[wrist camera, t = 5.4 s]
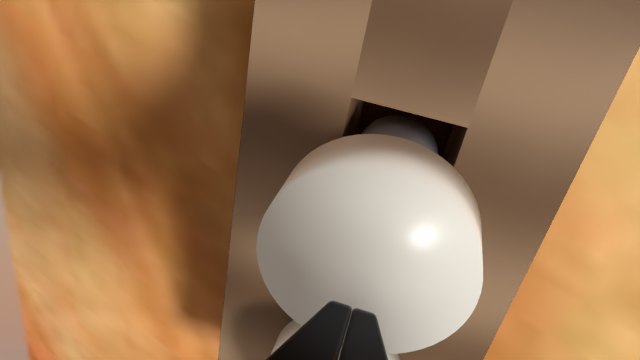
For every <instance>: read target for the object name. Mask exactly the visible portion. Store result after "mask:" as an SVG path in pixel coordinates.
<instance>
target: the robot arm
mask: <svg viewBox="0 0 640 360" xmlns="http://www.w3.org/2000/svg"><path fill="white" fill-rule="evenodd" d="M351 313H352V314H351ZM350 316H351V317H350ZM349 320H350V321H349ZM348 323H349V324H348ZM347 327H348V328H347ZM346 330H347V331H346ZM345 334H346V335H345ZM344 337H345V338H344ZM343 341H344V342H343ZM342 344H343V345H342ZM341 348H342V349H341ZM340 351H341V352H340ZM339 355H340V356H339ZM338 358H339V359H338ZM266 360H388V357H387V353H386V349H385V346H384V342H383V338H382V335H381V331H380V327H379V324H378V320H377V317H376V315H375V314H374V313H371V312H368V311H365V310H362V309H359V308H354V309H353V311H352V308H351V306H349V305H346V304H343V303H340V302H336V301H330V302H328V303H327V304H326V305H325V306H324V307H322V308H321V309H320V310H319V311H318V312H317V313H316V314H315V315H314V316H313V317H312V318H310V319H309V320H308V321H307V322H306V323H305V324H304V325H303V326H302V327H301V328H300V329H298V330H297V331H296V332H295V333H294V334H293V335H292V336H291V337H290V338H289V339H287V340H286V341H285V342H284V343H283V344H282V345H281V346H280V347H279V348H278V349H277V350H275V351H274V352H273V353H272V354H271V355H270V356H269V357H268V358H267V359H266Z"/></svg>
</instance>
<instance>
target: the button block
mask: <svg viewBox="0 0 640 360" xmlns="http://www.w3.org/2000/svg"><path fill="white" fill-rule="evenodd" d="M639 47H640V0H255V5H254V15H253V25H252V34H251V44H250V54H249V63H248V73H247V83H246V92H245V102H244V112H243V122H242V131H241V141H240V151H239V160H238V170H237V180H236V190H235V199H234V209H233V219H232V228H231V238H230V248H229V258H228V267H227V277H226V287H225V296H224V306H223V316H222V326H221V335H220V345H219V355H218V360H266V359H267V358H268V357H269V356H270V355H271V352H272V350H273V348H274V345H275V343H276V341H277V339H278V336H279V334H280V332H281V331H282V330H283V328H284V327H285V326H286V325H287V324H288V323H289V322H291V321H293V319H292V318H291V317H290V316H289V315H288V314H287V313H286V312H285V311H284V310H283V309H282V308H281V307H280V306H279V305H278V303H277V302H276V301H275V299H274V298H273V296H272V295H271V294H270V292H269V290H268V288H267V286H266V284H265V283H264V280H263V277H262V275H261V272H260V269H259V265H258V260H257V250H256V247H257V235H258V231H259V226H260V224H261V221H262V219H263V216H264V214H265V213H266V211H267V209H268V208H269V206H270V204H271V203H272V201H273V200H274V198H275V197H276V195H277V194H278V192H279V191H280V189H281V188H282V186H283V185H284V183H285V181H286V180H287V178H288V177H289V175H290V174H291V172H292V171H293V169H294V168H295V167H296V166H297V164H298V163H299V162H300V161H301V160H302V159H303V158H304V157H305V156H307V155H308V154H309V153H310V152H312V151H313V150H315V149H316V148H318V147H319V146H321V145H323V144H326V143H328V142H330V141H332V140H335V139H339V138H342V137H346V136H352V135H357V131H358V126H359V122H360V118H361V113H362V109H363V105H364V101H366V102H370V103H374V104H378V105H382V106H386V107H389V108H393V109H397V110H401V111H405V112H409V113H413V114H416V115H420V116H424V117H428V118H432V119H436V120H439V121H443V122H447V123H451V124H454V125H453V128H452V131H451V134H450V137H449V140H448V143H447V146H446V149H445V152H444V155H443V159H444V160H446V161H447V162H448V163H449V164H451V165H452V166H453V167H454V168H455V169H456V170H457V172H458V173H459V174H460V175H461V176H462V177H463V179H464V180H465V182H466V183H467V184H468V186H469V187H470V189H471V191H472V193H473V195H474V197H475V199H476V202H477V205H478V208H479V212H480V218H481V229H482V255H483V284H482V290H481V294H480V297H479V300H478V303H477V305H476V307H475V309H474V311H473V312H472V314H471V316H470V317H469V318H468V319H467V321H466V322H465V323H464V324H463V325H462V326H461V327H460V328H459V329H458V330H457V331H456V332H455V333H453V334H452V335H450V336H449V337H447V338H446V339H444V340H442V341H440V342H438V343H436V344H434V345H432V346H429V347H426V348H424V349H421V350H416V351H412V352H407V353H398V355H399V357H400V360H483V359H484V357H485V355H486V353H487V351H488V349H489V347H490V345H491V343H492V341H493V339H494V337H495V335H496V333H497V331H498V329H499V327H500V325H501V323H502V321H503V319H504V317H505V315H506V313H507V311H508V309H509V307H510V305H511V303H512V301H513V299H514V297H515V295H516V293H517V291H518V289H519V287H520V285H521V283H522V281H523V279H524V277H525V275H526V273H527V271H528V269H529V267H530V265H531V263H532V261H533V259H534V257H535V255H536V253H537V251H538V249H539V247H540V245H541V243H542V241H543V239H544V237H545V235H546V233H547V231H548V229H549V227H550V225H551V223H552V221H553V219H554V217H555V215H556V213H557V211H558V209H559V207H560V205H561V203H562V201H563V199H564V197H565V195H566V193H567V191H568V189H569V187H570V185H571V183H572V181H573V179H574V177H575V175H576V173H577V171H578V169H579V167H580V165H581V163H582V161H583V159H584V157H585V155H586V153H587V151H588V149H589V147H590V145H591V143H592V141H593V139H594V137H595V135H596V133H597V131H598V129H599V127H600V125H601V123H602V121H603V119H604V117H605V115H606V113H607V111H608V109H609V107H610V105H611V103H612V101H613V99H614V97H615V95H616V93H617V91H618V89H619V87H620V85H621V83H622V81H623V79H624V77H625V75H626V73H627V71H628V69H629V67H630V65H631V63H632V61H633V59H634V57H635V55H636V53H637V51H638V49H639Z"/></svg>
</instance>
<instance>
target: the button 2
mask: <svg viewBox="0 0 640 360" xmlns="http://www.w3.org/2000/svg"><path fill="white" fill-rule="evenodd" d="M256 250H257V260H258V265H259V269H260V272H261V275H262V277H263V280H264V283H265V284H266V286H267V288H268V290H269V292H270V294H271V295H272V296H273V298H274V299H275V301H276V302H277V303H278V305H279V306H280V307H281V308H282V309H283V310H284V311H285V312H286V313H287V314H288V315H289V316H290V317H291V318H292V319H293V320H294V321H295V322H297V323H298V324H299V325H301V326H303V325H304V324H305V323H306V322H307V321H308V320H309V319H310V318H312V317H313V316H314V315H315V314H316V313H317V312H318V311H319V310H320V309H321V308H322V307H324V306H325V305H326V304H327V303H328V302H330V301H336V302H340V303H343V304H346V305H349V306H351V308H352V311H353V309H354V308H359V309H362V310H365V311H368V312H371V313H374V314H375V315H376V317H377V320H378V324H379V327H380V331H381V335H382V338H383V342H384V346H385V349H386V353H387V354H398V353H407V352H412V351H416V350H421V349H424V348H426V347H429V346H432V345H434V344H436V343H438V342H440V341H442V340H444V339H446V338H447V337H449V336H450V335H452V334H453V333H455V332H456V331H457V330H458V329H459V328H460V327H461V326H462V325H463V324H464V323H465V322H466V321H467V319H468V318H469V317H470V316H471V314H472V312H473V311H474V309H475V307H476V305H477V303H478V300H479V297H480V294H481V290H482V284H483V255H482V229H481V218H480V212H479V208H478V205H477V202H476V199H475V197H474V195H473V193H472V191H471V189H470V187H469V186H468V184H467V183H466V182H465V180H464V179H463V177H462V176H461V175H460V174H459V173H458V172H457V170H456V169H455V168H454V167H453V166H452V165H451V164H449V163H448V162H447V161H446V160H444V159H443V158H442V157H441V156H439V153H438V145H437V142H436V140H435V138H434V136H433V134H432V133H431V131H430V130H429V129H428V128H427V127H426V126H425V125H423V124H422V123H420V122H419V121H417V120H415V119H413V118H410V117H407V116H401V115H391V116H385V117H382V118H379V119H377V120H375V121H374V122H372V123H371V124H369V125H368V126H367V127H366V128H365V129H364V131H363V132H362V134H357V135H352V136H346V137H342V138H339V139H335V140H332V141H330V142H328V143H326V144H323V145H321V146H319V147H318V148H316V149H315V150H313V151H312V152H310V153H309V154H308V155H307V156H305V157H304V158H303V159H302V160H301V161H300V162H299V163H298V164H297V166H296V167H295V168H294V169H293V171H292V172H291V174H290V175H289V177H288V178H287V180H286V181H285V183H284V185H283V186H282V188H281V189H280V191H279V192H278V194H277V195H276V197H275V198H274V200H273V201H272V203H271V204H270V206H269V208H268V209H267V211H266V213H265V214H264V216H263V219H262V221H261V224H260V226H259V231H258V235H257V247H256ZM351 314H352V313H351ZM350 317H351V316H350ZM349 321H350V320H349ZM348 324H349V323H348ZM347 328H348V327H347ZM346 331H347V330H346ZM345 335H346V334H345ZM344 338H345V337H344ZM343 342H344V341H343ZM342 345H343V344H342Z"/></svg>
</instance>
